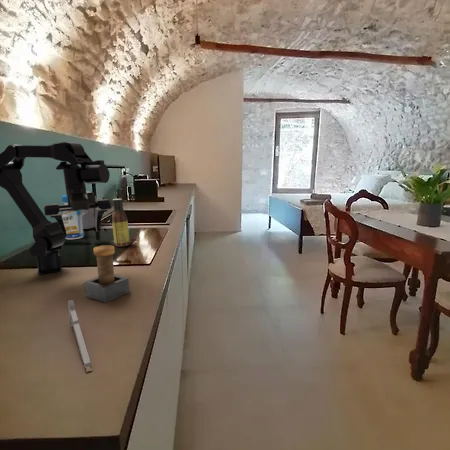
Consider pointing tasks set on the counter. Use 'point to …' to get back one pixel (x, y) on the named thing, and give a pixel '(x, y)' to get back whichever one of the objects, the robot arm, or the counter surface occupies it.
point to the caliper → (78, 334)
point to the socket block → (106, 289)
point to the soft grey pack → (89, 217)
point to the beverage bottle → (72, 222)
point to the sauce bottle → (120, 224)
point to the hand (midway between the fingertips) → (82, 233)
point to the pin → (105, 264)
